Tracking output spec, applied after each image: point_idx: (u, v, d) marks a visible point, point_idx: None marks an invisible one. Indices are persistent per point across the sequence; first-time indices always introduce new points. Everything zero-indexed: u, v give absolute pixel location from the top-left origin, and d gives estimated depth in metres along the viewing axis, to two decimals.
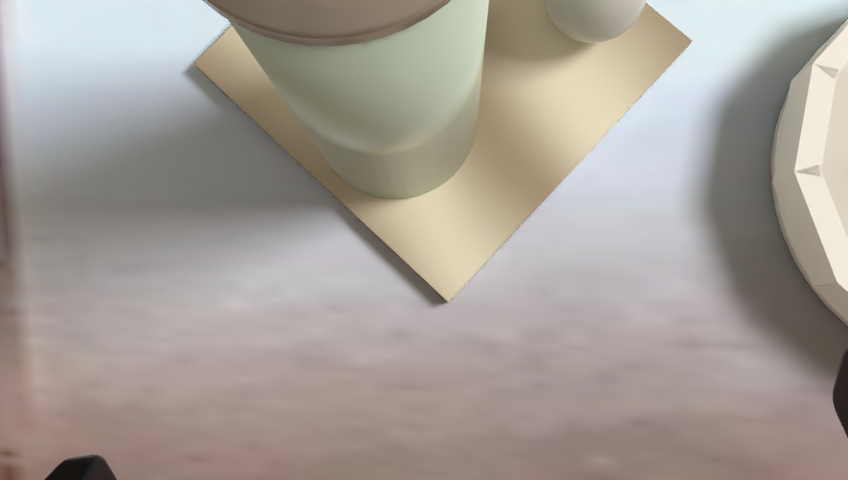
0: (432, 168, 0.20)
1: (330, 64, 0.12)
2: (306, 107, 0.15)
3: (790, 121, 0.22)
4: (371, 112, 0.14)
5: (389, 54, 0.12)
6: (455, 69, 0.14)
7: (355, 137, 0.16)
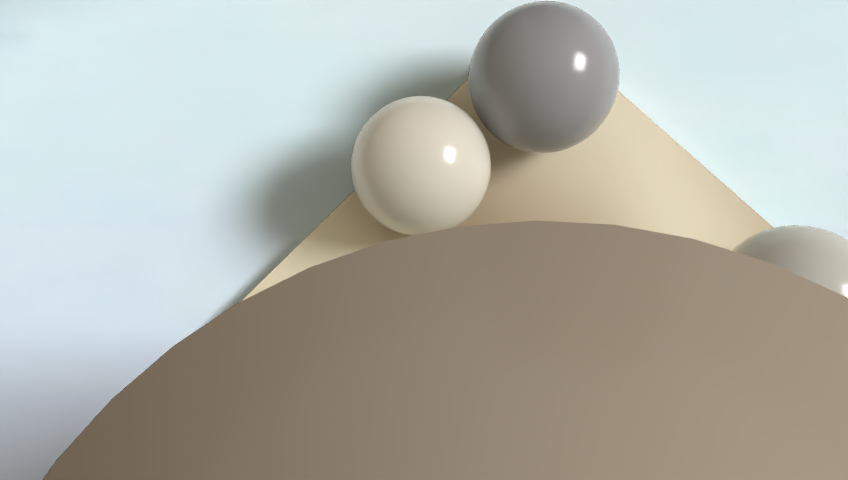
0: None
1: None
2: None
3: None
4: None
5: None
6: None
7: None
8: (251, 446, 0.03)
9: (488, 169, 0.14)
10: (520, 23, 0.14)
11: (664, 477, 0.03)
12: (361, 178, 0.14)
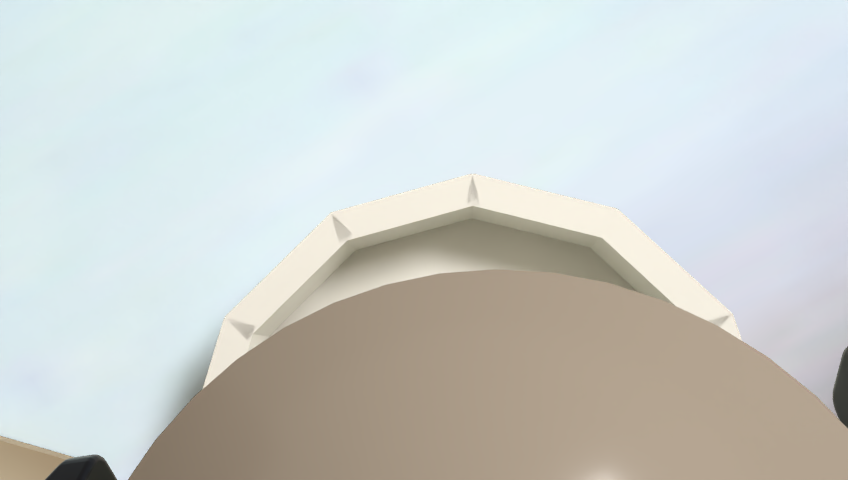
0: None
1: None
2: None
3: None
4: None
5: None
6: None
7: None
8: (292, 430, 0.05)
9: None
10: None
11: (582, 451, 0.04)
12: None
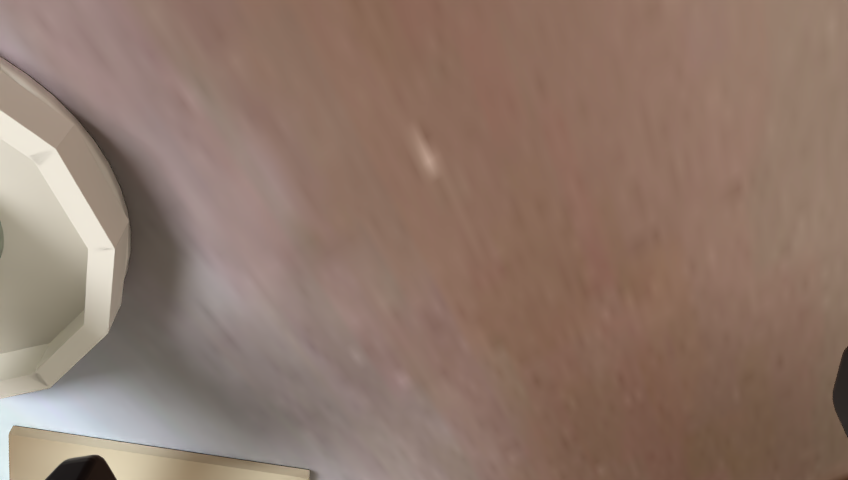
0: None
1: None
2: None
3: None
4: None
5: None
6: None
7: None
8: None
9: None
10: None
11: None
12: None
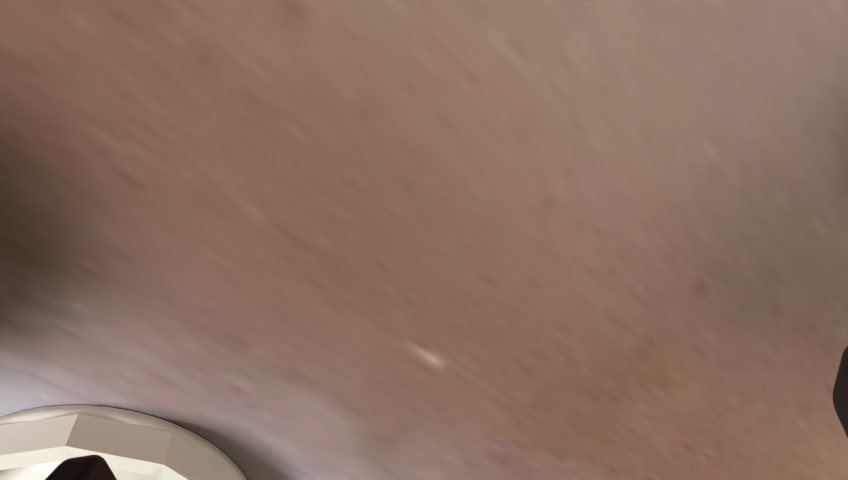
0: None
1: None
2: None
3: None
4: None
5: None
6: None
7: None
8: None
9: None
10: None
11: None
12: None
